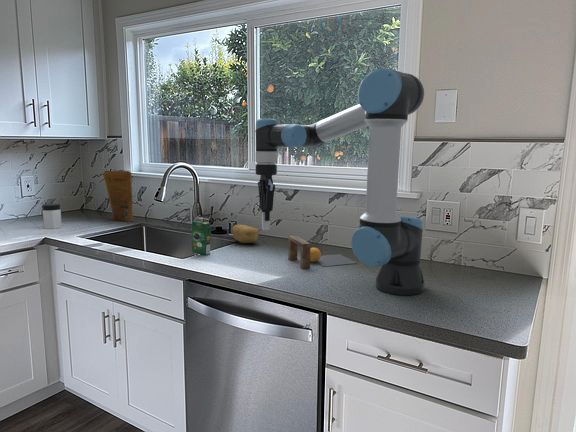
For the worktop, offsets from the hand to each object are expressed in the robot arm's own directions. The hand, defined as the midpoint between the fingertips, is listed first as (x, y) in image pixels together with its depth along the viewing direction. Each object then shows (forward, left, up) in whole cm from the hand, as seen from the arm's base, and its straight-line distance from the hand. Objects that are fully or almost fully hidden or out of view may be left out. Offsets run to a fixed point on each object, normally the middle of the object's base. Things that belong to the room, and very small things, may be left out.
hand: (265, 229), depth 161 cm
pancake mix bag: (+114, +49, -14) cm, 125 cm away
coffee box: (+26, +19, -14) cm, 35 cm away
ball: (+1, -19, -11) cm, 22 cm away
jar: (+102, +82, -14) cm, 132 cm away
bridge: (0, -13, -14) cm, 19 cm away
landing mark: (0, -27, -14) cm, 30 cm away
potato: (+39, -3, -14) cm, 42 cm away
